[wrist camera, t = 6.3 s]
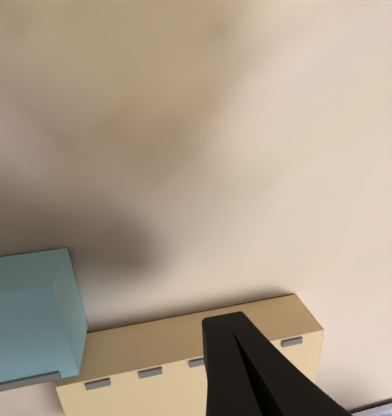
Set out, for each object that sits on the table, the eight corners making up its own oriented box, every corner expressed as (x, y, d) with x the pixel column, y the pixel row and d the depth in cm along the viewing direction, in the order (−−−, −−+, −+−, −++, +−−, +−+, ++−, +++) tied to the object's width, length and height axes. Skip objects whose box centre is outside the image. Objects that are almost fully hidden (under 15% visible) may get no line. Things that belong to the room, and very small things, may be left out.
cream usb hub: (288, 363, 17) (313, 407, 14) (89, 409, 15) (82, 467, 13) (295, 294, 15) (325, 331, 13) (68, 337, 13) (54, 389, 11)
